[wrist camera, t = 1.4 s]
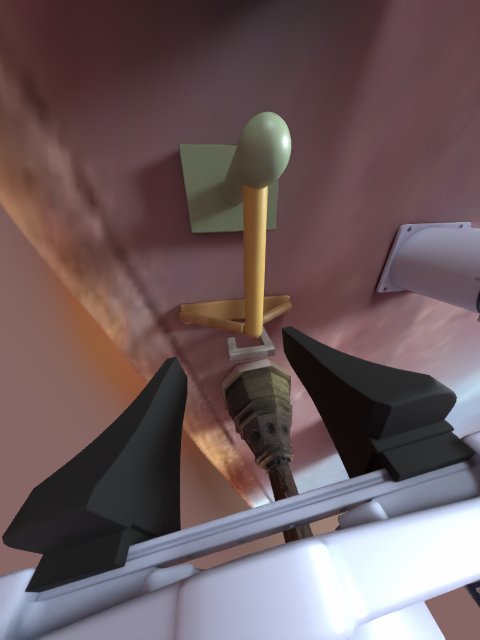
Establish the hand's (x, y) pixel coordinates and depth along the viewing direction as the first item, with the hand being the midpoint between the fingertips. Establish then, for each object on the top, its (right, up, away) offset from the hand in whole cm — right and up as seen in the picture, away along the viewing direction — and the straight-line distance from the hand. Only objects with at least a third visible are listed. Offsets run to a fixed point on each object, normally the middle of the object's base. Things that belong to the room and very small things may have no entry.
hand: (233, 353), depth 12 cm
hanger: (0, +4, +10) cm, 11 cm away
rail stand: (0, +11, +6) cm, 12 cm away
